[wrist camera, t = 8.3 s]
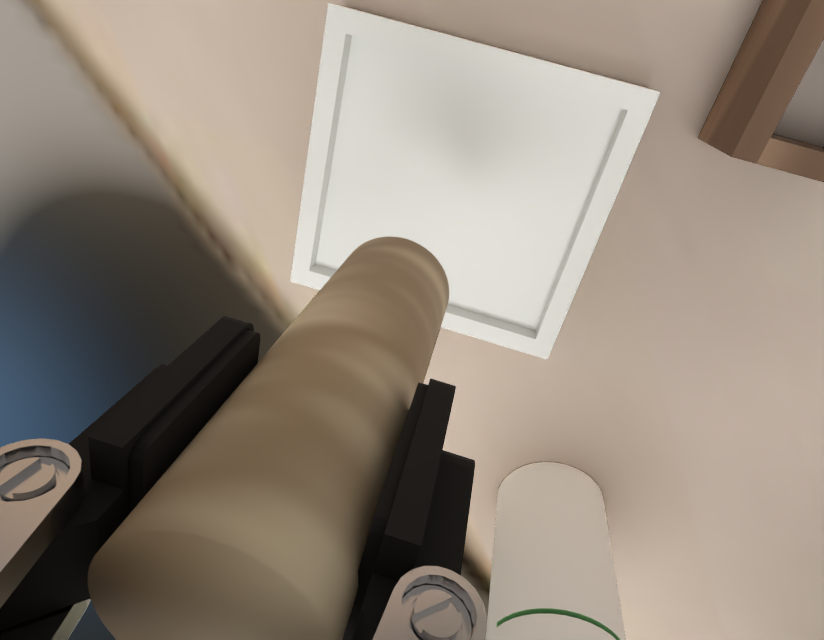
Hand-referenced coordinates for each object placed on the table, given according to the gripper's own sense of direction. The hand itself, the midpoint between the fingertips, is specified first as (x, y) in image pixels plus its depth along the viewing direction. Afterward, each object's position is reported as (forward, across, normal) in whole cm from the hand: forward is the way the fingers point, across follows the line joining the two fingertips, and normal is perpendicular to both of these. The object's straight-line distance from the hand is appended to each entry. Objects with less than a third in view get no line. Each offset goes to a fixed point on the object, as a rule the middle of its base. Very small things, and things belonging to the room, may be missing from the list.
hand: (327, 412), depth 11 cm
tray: (+21, 0, 0) cm, 21 cm away
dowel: (+6, 0, 0) cm, 6 cm away
